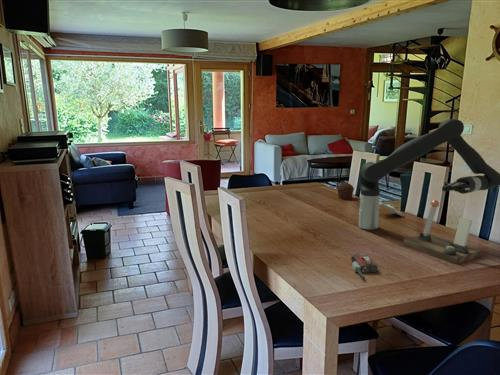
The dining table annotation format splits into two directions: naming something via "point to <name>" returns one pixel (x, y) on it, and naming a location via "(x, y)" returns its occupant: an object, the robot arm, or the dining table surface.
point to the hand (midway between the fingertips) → (443, 188)
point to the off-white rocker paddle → (462, 232)
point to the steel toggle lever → (430, 217)
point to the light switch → (390, 208)
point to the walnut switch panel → (442, 248)
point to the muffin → (345, 191)
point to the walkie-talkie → (363, 264)
